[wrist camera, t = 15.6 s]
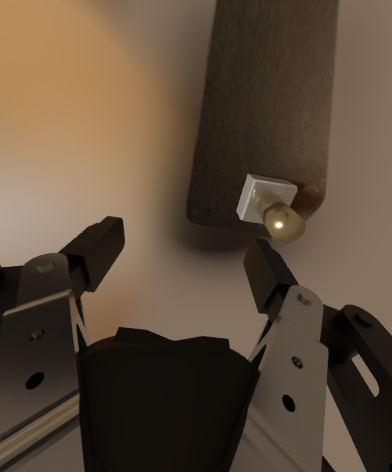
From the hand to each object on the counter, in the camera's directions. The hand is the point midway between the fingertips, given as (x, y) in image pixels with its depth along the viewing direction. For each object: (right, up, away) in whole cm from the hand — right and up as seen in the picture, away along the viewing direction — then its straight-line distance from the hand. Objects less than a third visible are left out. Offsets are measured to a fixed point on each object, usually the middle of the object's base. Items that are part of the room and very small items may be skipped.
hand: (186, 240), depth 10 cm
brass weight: (+16, +7, +24) cm, 29 cm away
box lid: (+16, +8, +28) cm, 33 cm away
